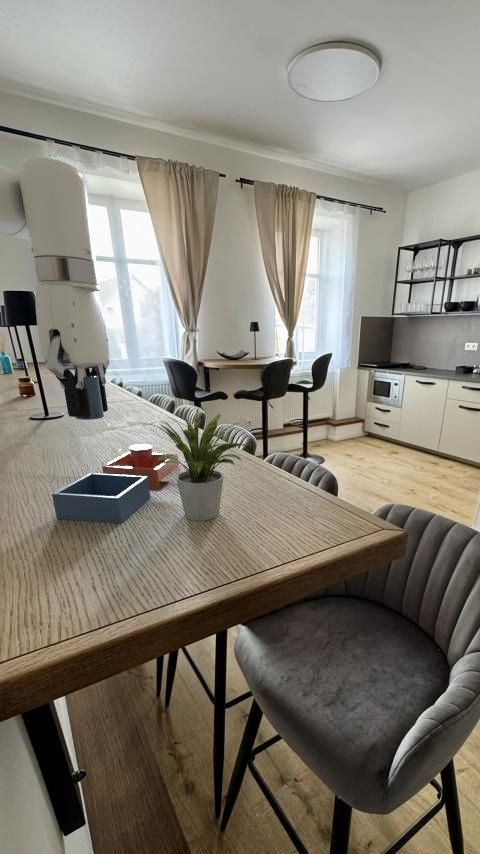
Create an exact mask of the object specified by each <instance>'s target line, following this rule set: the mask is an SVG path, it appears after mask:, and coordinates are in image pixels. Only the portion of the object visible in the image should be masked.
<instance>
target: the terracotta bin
mask: <svg viewBox="0 0 480 854" xmlns="http://www.w3.org/2000/svg"><path fill="white" fill-rule="evenodd" d="M164 454H165V455H170V456H173V457H175V458H176V459H177V460H179V455H178V454H177V453H176V454H175V453H160V452H159V453H158V452H156V453H155V452H153V460H154V466H156V467H154V468H138V467H132V466H130V465H131V457H130V451H128V452H126V453H124V454H122V455H121V456H118V457H117V458H115V459H113V460H111V461H109V462H107V463H106V464H104V465H102V466H101V469H102V474H116V475H133V476H148V482H149V491H155V492H160V491H161V490H162V489H163V488H164V487H165V486H167V485H168V484H169V483H170V481H169V480H168V481H166V480H165V481H164V480H163V479H164V478H165V477H166V476H167V475H169V474H170V473H172V472H173V471H174V470H175V469H176V468H177V467H179V463H174V462H172V463H164V464H162V463H163V462H165V461H177V460H173V459H165V460H158V458H159V457H160V456H161V455H164ZM157 460H158V461H157ZM177 462H179V461H177Z"/></svg>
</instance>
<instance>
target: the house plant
mask: <svg viewBox="0 0 480 854" xmlns="http://www.w3.org/2000/svg"><path fill="white" fill-rule="evenodd" d="M199 410H200V406H199V407H198V408H197V409H196V411H195V413H194V419H193V425H192V423H191V422H190V421H189V420H188V419H187V418H185V424H186V425H187V429H183V426H182V425H181V424H180V423H179V422H178V421H177V420H175V419H174V418H171V417H166V418H167V419H170V420H172V421H174V422H176V423H177V424H178V426H179V428H180V429H181V430H180V432H182V433H183V435H184V437H185V439H186V441H187V444H186V443H184V442H183V440H182V438H181V436H180V435H179V434H178V433H177V431H176V430H175V429H173V428H172V426H171V425H170V424H169V423H168V422H165V421H164V420H161V422H162V423H164V424H165V425H162V424H161V423H159V425H160V426H161V427H159V426H157V425H155V424H151V423H146V425H148V426H152V427H156V428H158V429H160V430H161V431H163V432H164V433H165V434H166V435H168V437H169V438H170V440H172V441H173V442H174V444H175V445H174V446H175V447H176V448H177V449H178V450H179V452H181V453H182V454H183V457H184V460H185V461H183V462H181V461H180V460H179V459H178V460H177V459H176V458H175V457H173V456H170V455H165V454H166V453H163V454H164V455H161V456H160V457H159V458H158V460H165V459H173V460H177V461H178V462H177V461H165V462H163V463H162V464H164V463H172V462H174V463H178V465H182V467H183V468H184V470H185V471H182V472H179V473H178V474H177V475H176V476H175V480H176V485H177V488H178V489H177V490H178V493H179V497H180V500H181V504H182V508H183V512H184V516H185V517H186V519H188V520H191V521H196V522H203V521H209V520H213V519H216V518H217V517H218V516H219V514H220V508H221V507H220V506H221V500H222V493H223V492H222V491H223V484H224V478H225V477H224V473H222V472H221V471H219V470H215V469H216V468H217V467H218V466H220V464H221V463H222V464H223V463H224V464H230V465H234V466H236V463H234V461H233V460H232V459H229V458H234V459H237V460H239V461H240V462H242V459H241V457H240V456H239V455H237V454H233V453H226V454H224V453H225V452H226V451H228V450H231V449H234V448H236V447H239V446H241V447H243V446H244V447H245V446H247V444H245V443H238V442H230V443H229V442H227V443H226V442H223V443H218V444H217V442H218V441H219V440H220V439H221V438H225V436H224V435H225V434H226V433H227V432H230V429H231V428H233V427H234V426H236V425H238V424H241V423H242V421H240V422H237V423H233V424H232V425H230V426H229V427H227V428H226V429H225V430H223V431H220V432H216V430H217V429H218V421H219V420H220V417H221V413H218V414H217V415H216V416H214V417H213V418H212V420H210V421H209V422H208V424H207V425H206V427H205V428H204V430H203V432H202V435H201V437H200V441H199V431H200V430H199V429H200V427H199V426H200V425H199ZM168 427H169V428H168ZM219 434H220V435H219ZM216 435H218V436H216ZM215 436H216V437H215ZM214 437H215V438H214ZM188 446H189V447H188ZM228 457H229V458H228ZM158 460H157V461H158ZM184 463H186V465H187V466H186V465H185V464H184Z"/></svg>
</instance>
